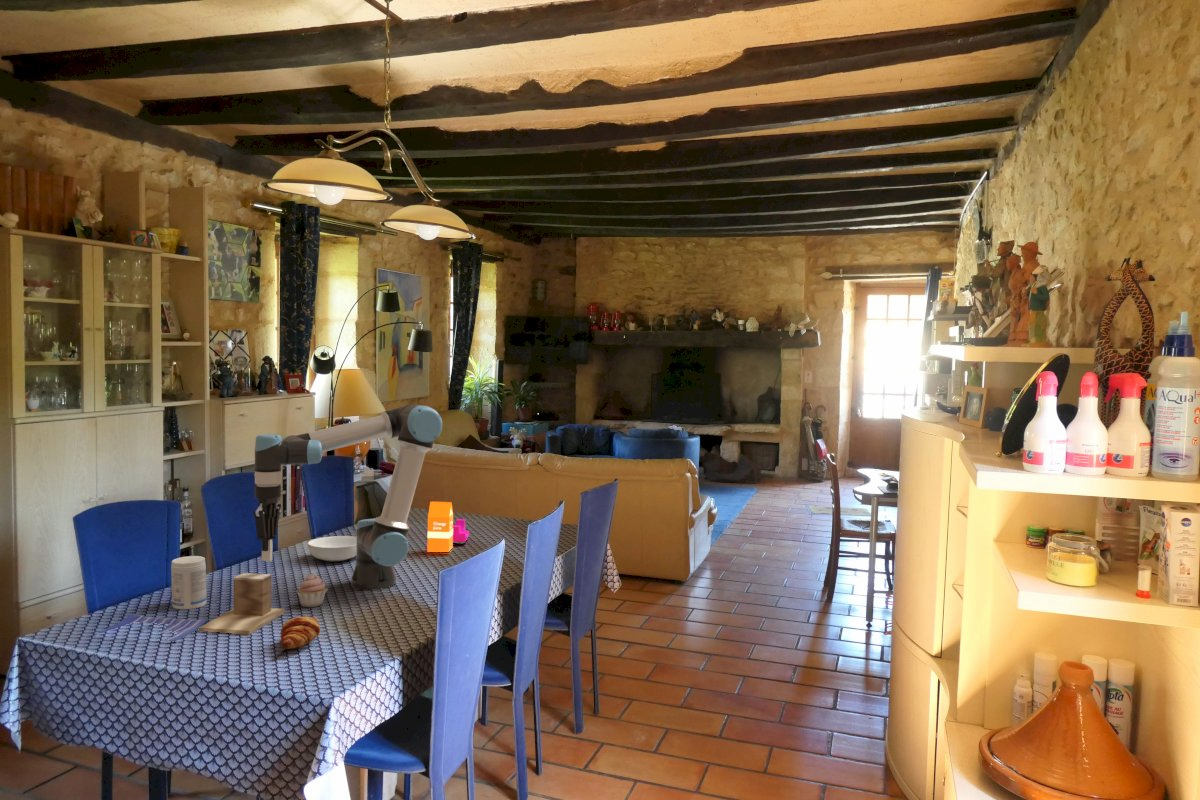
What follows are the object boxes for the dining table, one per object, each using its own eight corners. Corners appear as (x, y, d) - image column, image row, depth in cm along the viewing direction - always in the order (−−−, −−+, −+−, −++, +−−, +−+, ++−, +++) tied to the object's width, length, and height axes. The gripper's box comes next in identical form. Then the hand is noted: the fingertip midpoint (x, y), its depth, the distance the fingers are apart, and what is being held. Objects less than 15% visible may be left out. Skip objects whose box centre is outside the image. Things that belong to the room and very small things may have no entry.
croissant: (306, 639, 233) (291, 615, 233) (336, 621, 233) (321, 597, 233) (276, 665, 212) (260, 639, 212) (309, 646, 212) (293, 620, 212)
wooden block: (271, 610, 245) (271, 574, 245) (262, 616, 240) (262, 579, 240) (242, 609, 246) (242, 573, 245) (233, 614, 241) (233, 577, 240)
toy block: (464, 544, 342) (465, 526, 342) (450, 544, 342) (450, 526, 342) (470, 536, 357) (470, 519, 357) (456, 536, 357) (456, 519, 357)
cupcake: (318, 610, 250) (318, 578, 250) (290, 608, 252) (290, 576, 252) (333, 601, 260) (333, 570, 259) (306, 599, 261) (306, 568, 261)
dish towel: (132, 621, 238) (132, 612, 238) (210, 625, 236) (210, 615, 236) (91, 642, 221) (91, 632, 221) (175, 646, 219) (175, 636, 219)
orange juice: (449, 553, 326) (449, 503, 324) (427, 552, 326) (427, 503, 325) (452, 548, 333) (453, 500, 332) (431, 548, 334) (432, 499, 332)
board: (284, 612, 247) (284, 608, 247) (249, 634, 228) (249, 630, 227) (237, 610, 249) (237, 606, 249) (199, 631, 229) (199, 627, 229)
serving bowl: (372, 553, 323) (372, 536, 322) (351, 567, 302) (351, 548, 301) (322, 551, 325) (322, 534, 324) (297, 564, 304) (297, 546, 303)
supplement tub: (206, 600, 258) (206, 554, 257) (206, 608, 249) (206, 561, 249) (172, 603, 254) (171, 557, 253) (170, 612, 245) (170, 564, 244)
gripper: (266, 481, 257) (266, 554, 258) (244, 487, 244) (244, 565, 245) (289, 482, 256) (288, 556, 257) (268, 488, 243) (267, 566, 244)
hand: (267, 560), depth 251 cm, fingers closed
